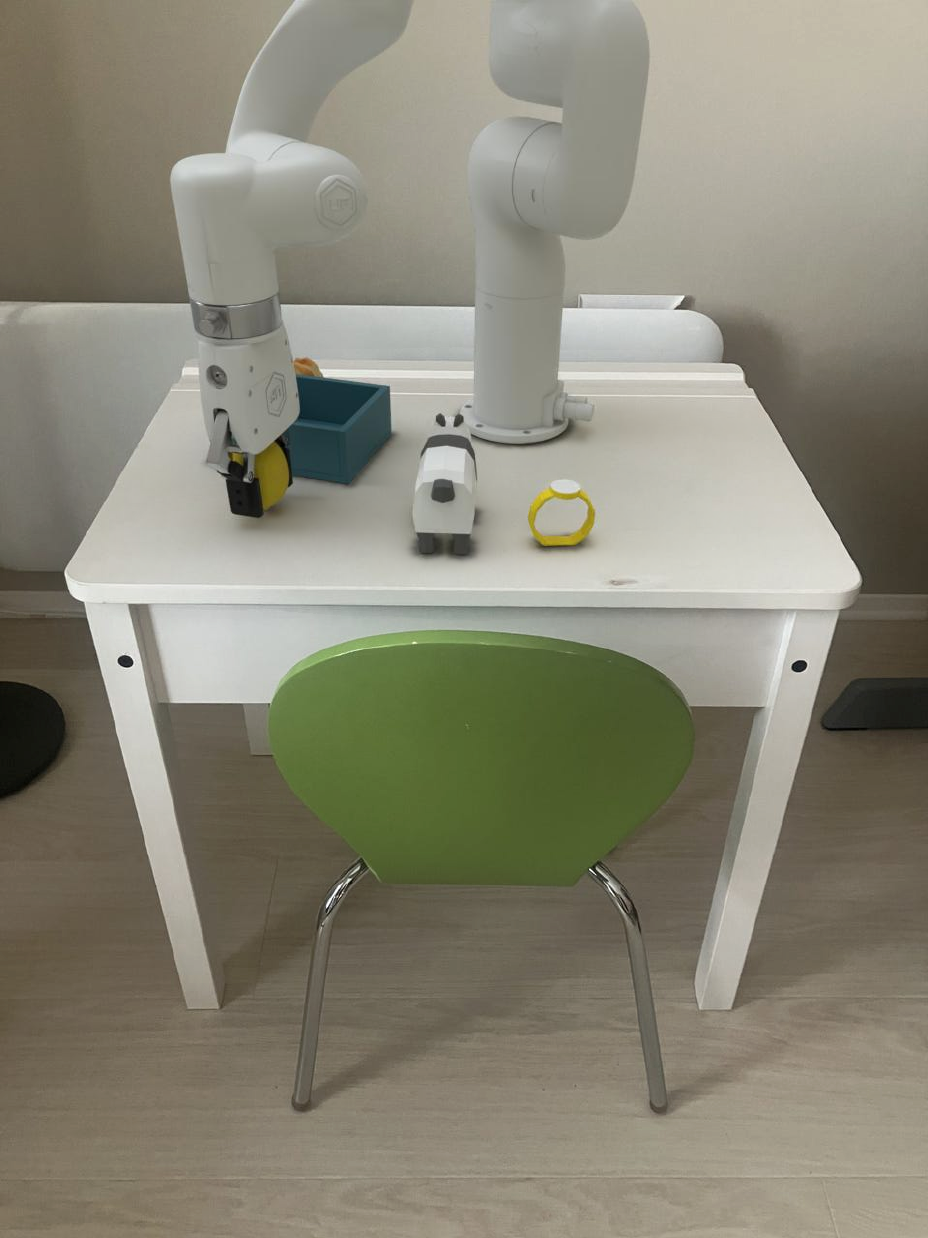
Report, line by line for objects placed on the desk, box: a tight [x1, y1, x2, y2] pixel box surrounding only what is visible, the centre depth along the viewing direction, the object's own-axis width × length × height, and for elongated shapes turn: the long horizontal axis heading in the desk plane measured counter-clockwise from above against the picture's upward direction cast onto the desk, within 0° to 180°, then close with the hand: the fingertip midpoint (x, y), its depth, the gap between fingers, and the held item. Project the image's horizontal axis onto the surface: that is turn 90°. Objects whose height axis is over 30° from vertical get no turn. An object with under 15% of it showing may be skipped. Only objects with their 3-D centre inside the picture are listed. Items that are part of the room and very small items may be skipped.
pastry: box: [293, 357, 324, 377], centre depth 117 cm, size 9×7×4 cm
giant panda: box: [411, 412, 478, 556], centre depth 91 cm, size 15×6×10 cm, turn 177°
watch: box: [527, 478, 596, 547], centre depth 89 cm, size 6×3×6 cm, turn 98°
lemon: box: [233, 441, 289, 511], centre depth 92 cm, size 6×6×8 cm
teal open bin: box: [232, 374, 393, 485], centre depth 105 cm, size 16×13×6 cm
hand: (262, 497), depth 94 cm, fingers closed on lemon, 5 cm apart
